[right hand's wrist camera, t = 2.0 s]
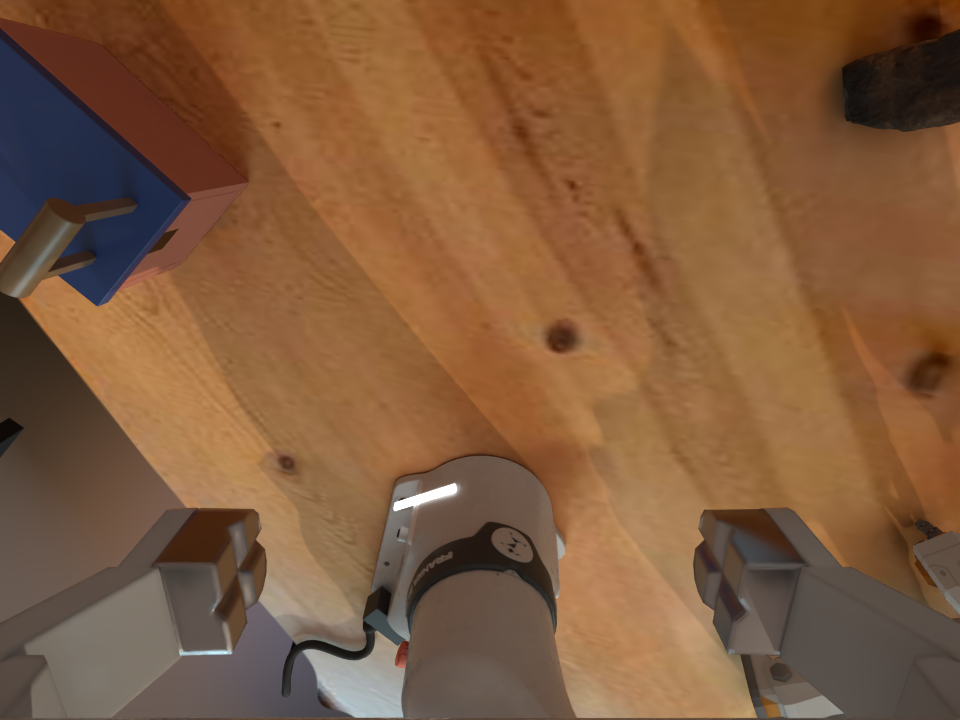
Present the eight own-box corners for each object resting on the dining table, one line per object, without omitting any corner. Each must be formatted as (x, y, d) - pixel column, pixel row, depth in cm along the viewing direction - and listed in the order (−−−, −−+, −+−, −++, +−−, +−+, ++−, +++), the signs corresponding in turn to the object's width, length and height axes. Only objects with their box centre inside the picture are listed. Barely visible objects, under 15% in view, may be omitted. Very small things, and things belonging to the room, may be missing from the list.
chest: (249, 182, 47) (187, 193, 37) (179, 266, 49) (103, 297, 39) (99, 43, 43) (-15, 13, 33) (31, 141, 46) (-94, 141, 36)
